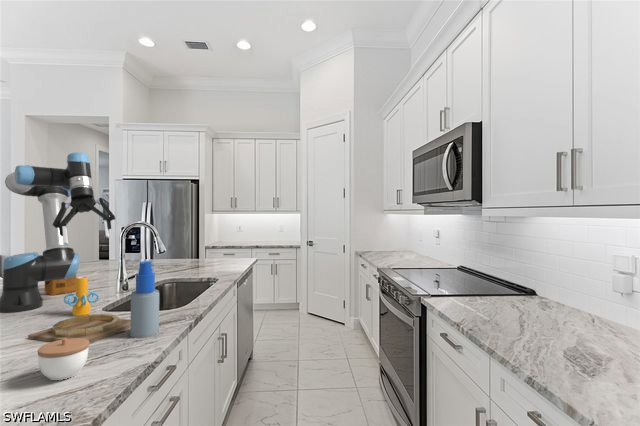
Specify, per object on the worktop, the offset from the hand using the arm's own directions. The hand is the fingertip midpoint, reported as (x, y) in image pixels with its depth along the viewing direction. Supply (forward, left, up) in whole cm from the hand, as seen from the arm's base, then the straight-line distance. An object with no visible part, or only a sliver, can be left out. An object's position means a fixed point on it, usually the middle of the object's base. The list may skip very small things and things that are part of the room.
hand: (87, 240), depth 134 cm
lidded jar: (+33, -37, -31) cm, 59 cm away
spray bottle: (+30, -5, -31) cm, 44 cm away
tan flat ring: (+9, -8, -30) cm, 32 cm away
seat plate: (+9, -8, -31) cm, 34 cm away
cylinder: (-11, +7, -31) cm, 34 cm away
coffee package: (-55, +34, -31) cm, 72 cm away
